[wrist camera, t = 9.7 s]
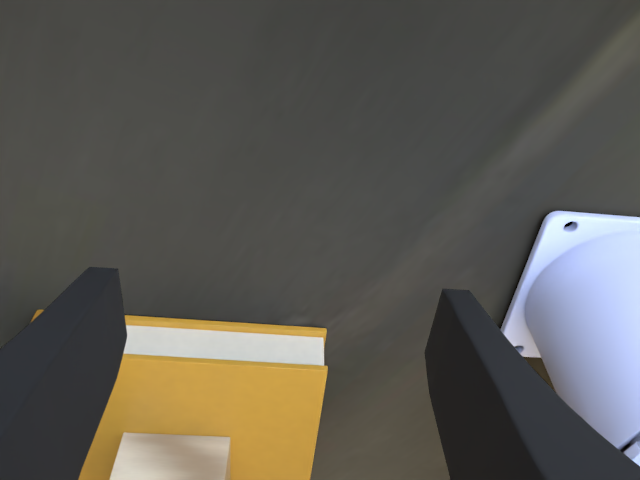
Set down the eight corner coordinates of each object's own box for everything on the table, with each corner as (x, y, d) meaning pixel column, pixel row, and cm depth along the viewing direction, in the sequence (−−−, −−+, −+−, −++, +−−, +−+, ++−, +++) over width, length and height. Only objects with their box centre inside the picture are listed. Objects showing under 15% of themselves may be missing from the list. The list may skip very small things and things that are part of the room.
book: (326, 327, 27) (327, 370, 25) (297, 520, 37) (296, 562, 35) (36, 308, 26) (13, 351, 24) (86, 511, 36) (72, 554, 34)
